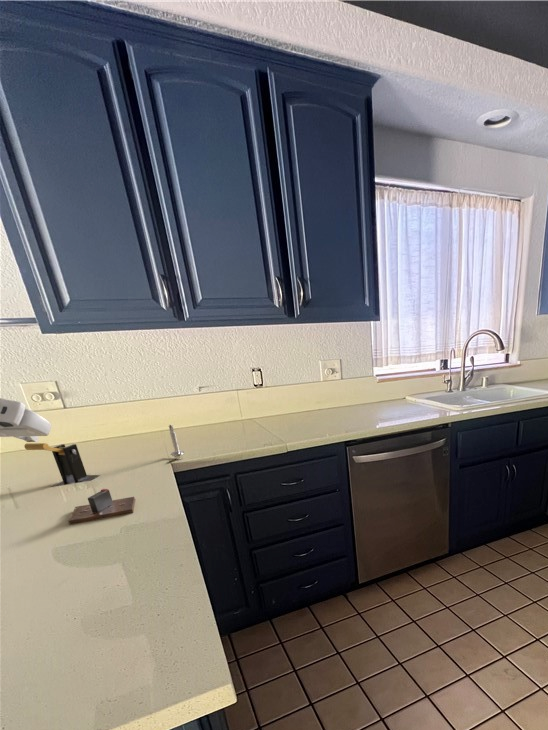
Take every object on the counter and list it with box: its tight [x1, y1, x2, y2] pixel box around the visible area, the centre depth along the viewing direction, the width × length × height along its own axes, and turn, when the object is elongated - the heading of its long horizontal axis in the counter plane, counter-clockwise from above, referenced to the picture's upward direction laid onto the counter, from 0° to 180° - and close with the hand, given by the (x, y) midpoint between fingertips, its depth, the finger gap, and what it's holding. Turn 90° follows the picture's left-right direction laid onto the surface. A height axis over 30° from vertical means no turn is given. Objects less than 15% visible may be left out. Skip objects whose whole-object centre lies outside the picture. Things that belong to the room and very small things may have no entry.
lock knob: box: [87, 488, 113, 512], centre depth 111 cm, size 6×2×4 cm, turn 175°
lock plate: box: [68, 496, 136, 526], centre depth 112 cm, size 14×10×3 cm
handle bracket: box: [50, 443, 101, 488], centre depth 137 cm, size 11×9×13 cm
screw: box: [168, 424, 185, 461], centre depth 159 cm, size 13×5×5 cm
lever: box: [24, 442, 65, 456], centre depth 130 cm, size 12×6×2 cm, turn 175°
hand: (33, 439), depth 124 cm, fingers closed
